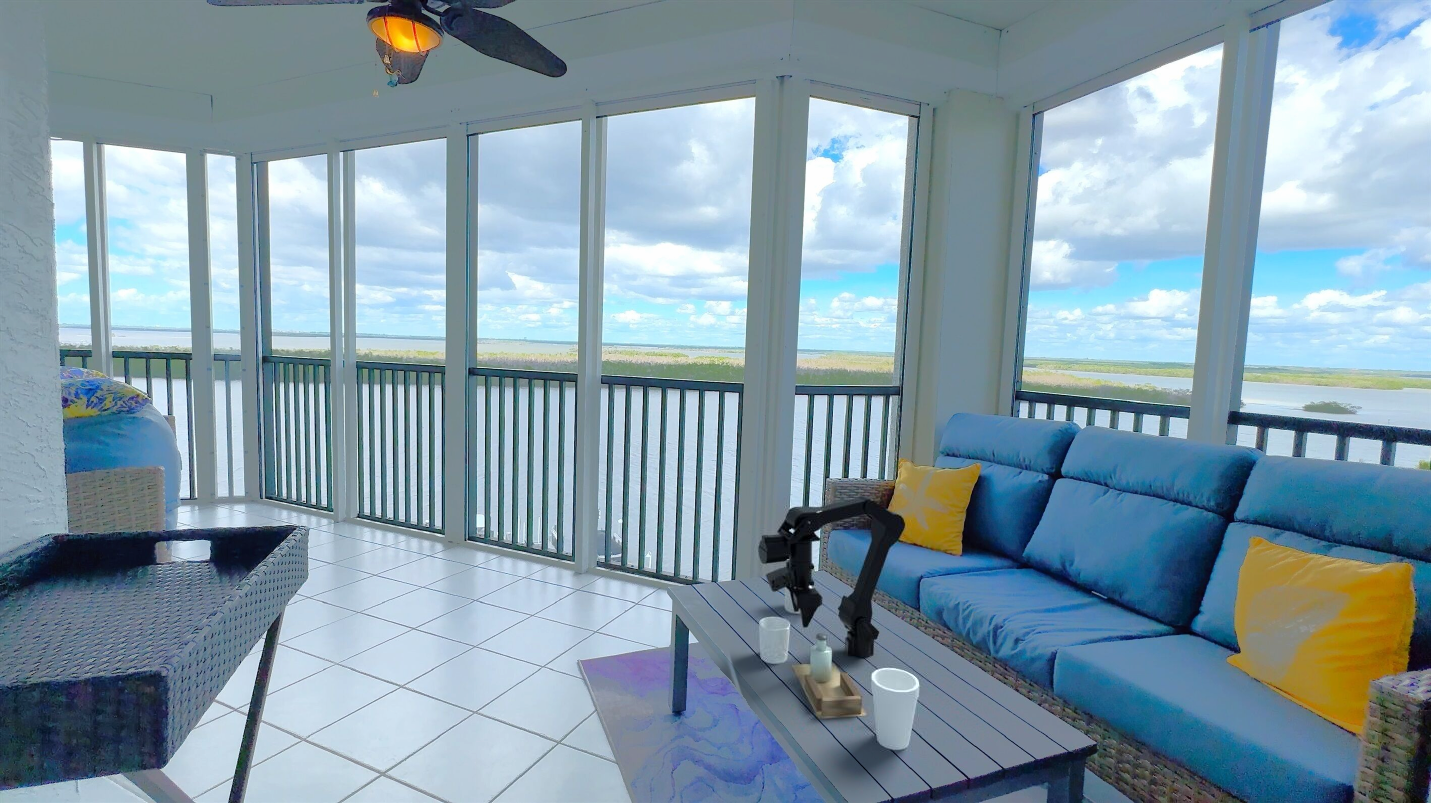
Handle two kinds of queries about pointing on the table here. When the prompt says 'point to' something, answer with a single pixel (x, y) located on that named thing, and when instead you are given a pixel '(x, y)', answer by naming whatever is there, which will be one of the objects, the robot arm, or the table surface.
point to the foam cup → (894, 706)
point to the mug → (790, 602)
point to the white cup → (774, 639)
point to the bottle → (821, 660)
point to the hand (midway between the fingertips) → (800, 619)
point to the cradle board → (831, 693)
